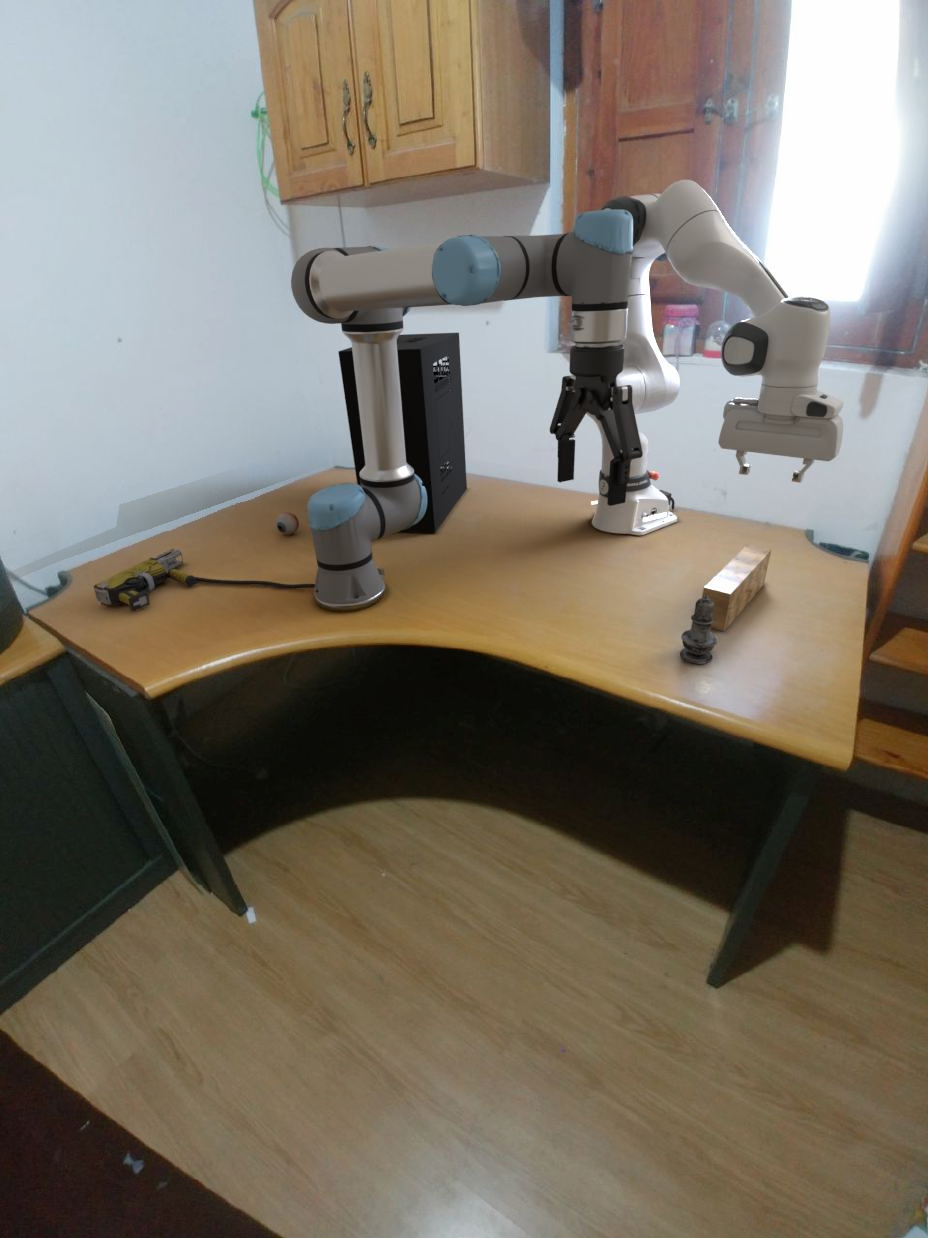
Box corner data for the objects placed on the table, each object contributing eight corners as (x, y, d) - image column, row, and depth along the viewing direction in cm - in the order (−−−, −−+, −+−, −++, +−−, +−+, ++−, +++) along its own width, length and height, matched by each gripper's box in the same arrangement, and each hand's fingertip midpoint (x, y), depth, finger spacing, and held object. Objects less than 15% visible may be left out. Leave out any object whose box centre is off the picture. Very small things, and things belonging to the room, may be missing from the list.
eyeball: (273, 537, 164) (268, 516, 161) (287, 528, 169) (282, 508, 166) (291, 539, 161) (286, 518, 158) (305, 530, 166) (301, 510, 163)
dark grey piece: (716, 666, 102) (728, 603, 96) (680, 663, 103) (689, 601, 97) (711, 647, 107) (722, 587, 101) (676, 645, 108) (685, 585, 102)
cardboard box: (435, 533, 160) (420, 348, 138) (363, 530, 165) (338, 351, 142) (466, 488, 192) (459, 332, 169) (406, 486, 196) (390, 334, 174)
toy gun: (219, 557, 146) (169, 546, 150) (142, 598, 126) (87, 585, 129) (222, 574, 148) (172, 563, 152) (147, 618, 128) (92, 604, 132)
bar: (740, 578, 129) (746, 544, 125) (763, 584, 126) (771, 549, 122) (697, 624, 114) (703, 587, 110) (723, 631, 111) (730, 594, 107)
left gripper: (529, 340, 93) (528, 475, 103) (633, 353, 73) (619, 520, 83) (570, 335, 95) (565, 468, 106) (681, 347, 75) (662, 509, 86)
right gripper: (719, 399, 111) (708, 473, 118) (845, 409, 99) (824, 490, 106) (731, 393, 115) (720, 465, 122) (854, 402, 103) (833, 481, 110)
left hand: (589, 491), depth 95 cm, fingers open, 13 cm apart
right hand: (769, 477), depth 114 cm, fingers open, 8 cm apart
